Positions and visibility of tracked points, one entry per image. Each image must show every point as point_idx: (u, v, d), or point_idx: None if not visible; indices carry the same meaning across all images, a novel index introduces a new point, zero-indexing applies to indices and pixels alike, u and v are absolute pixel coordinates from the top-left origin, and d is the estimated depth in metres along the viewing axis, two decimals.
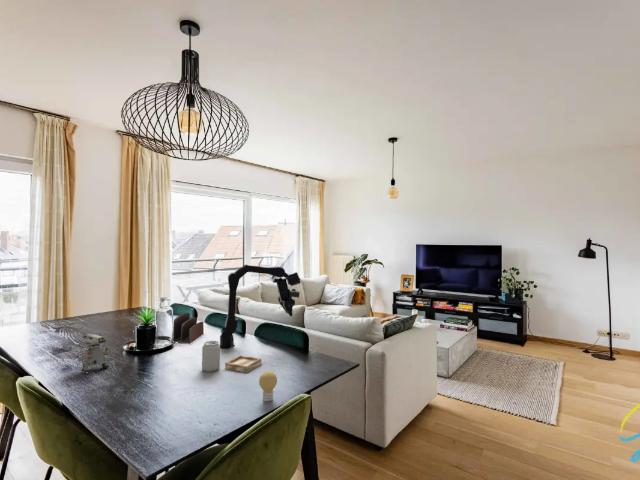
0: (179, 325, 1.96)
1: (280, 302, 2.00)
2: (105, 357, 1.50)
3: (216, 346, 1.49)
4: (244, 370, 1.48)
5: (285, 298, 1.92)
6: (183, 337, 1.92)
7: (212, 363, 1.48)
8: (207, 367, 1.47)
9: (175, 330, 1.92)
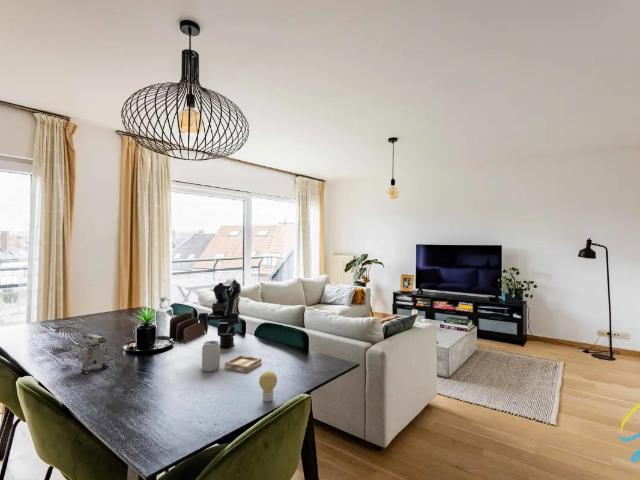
0: (177, 325, 1.97)
1: None
2: (105, 357, 1.50)
3: (216, 346, 1.49)
4: (244, 370, 1.48)
5: None
6: (179, 337, 1.92)
7: (212, 363, 1.48)
8: (207, 367, 1.47)
9: (172, 329, 1.93)
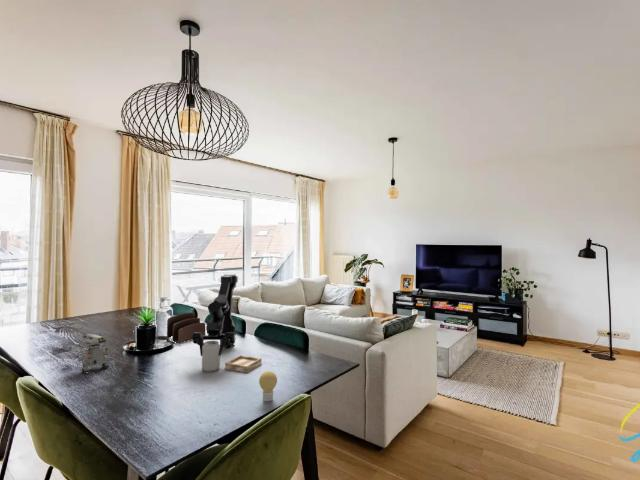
0: None
1: None
2: (105, 357, 1.50)
3: (216, 346, 1.49)
4: (244, 370, 1.48)
5: None
6: (176, 337, 1.93)
7: (212, 363, 1.48)
8: (207, 367, 1.47)
9: (170, 329, 1.94)
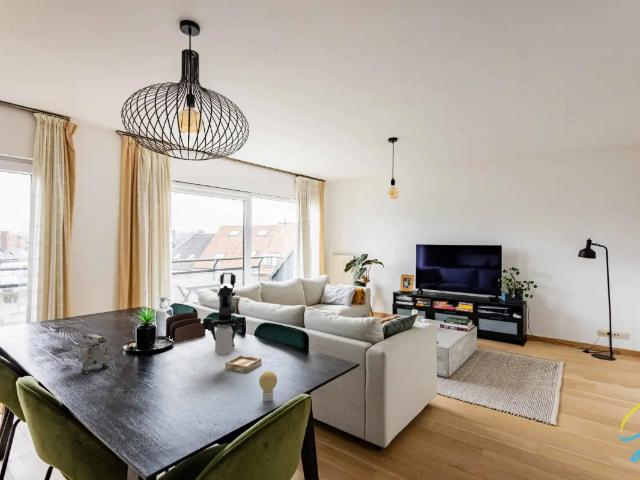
0: None
1: (236, 328, 1.59)
2: (105, 357, 1.50)
3: (230, 330, 1.51)
4: (244, 370, 1.48)
5: None
6: (174, 336, 1.93)
7: (227, 347, 1.49)
8: (222, 351, 1.49)
9: (169, 328, 1.96)
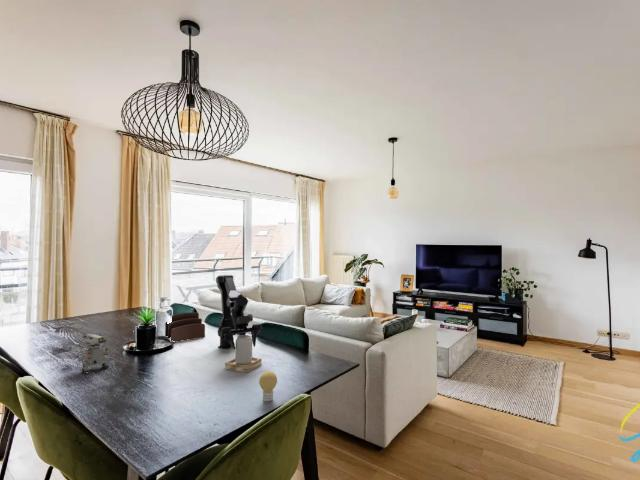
0: None
1: None
2: (105, 357, 1.50)
3: (251, 339, 1.55)
4: (244, 370, 1.48)
5: (234, 329, 1.60)
6: None
7: (249, 356, 1.53)
8: (244, 360, 1.52)
9: (168, 327, 1.97)
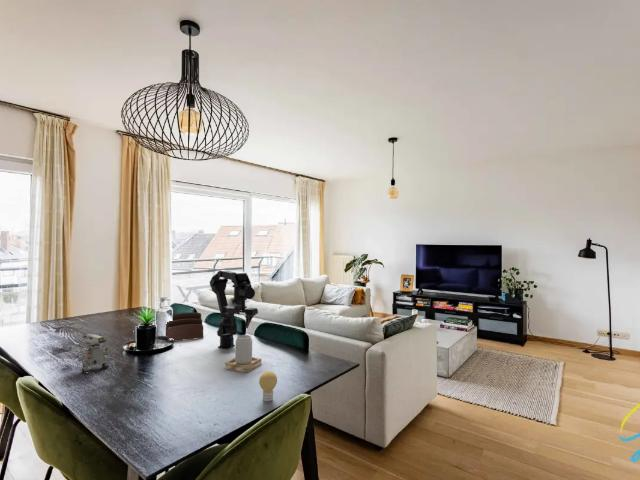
0: None
1: None
2: (105, 357, 1.50)
3: (251, 339, 1.55)
4: (244, 370, 1.48)
5: None
6: None
7: (249, 356, 1.53)
8: (244, 360, 1.52)
9: None
